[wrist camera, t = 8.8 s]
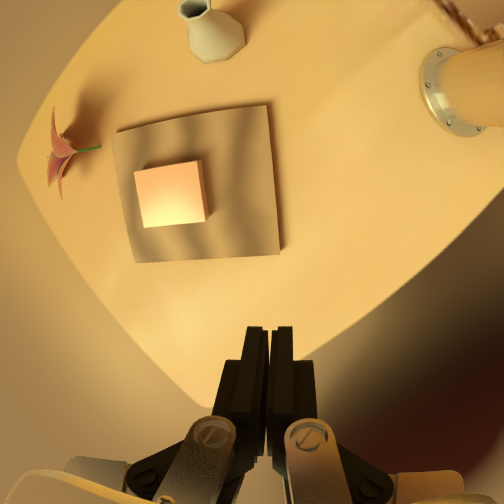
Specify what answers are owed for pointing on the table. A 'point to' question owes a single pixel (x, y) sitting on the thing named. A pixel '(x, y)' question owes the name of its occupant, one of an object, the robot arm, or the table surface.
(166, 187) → the tile
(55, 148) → the lily
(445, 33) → the table surface
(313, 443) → the robot arm
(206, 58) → the flask
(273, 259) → the table surface
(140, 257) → the board
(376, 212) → the table surface
